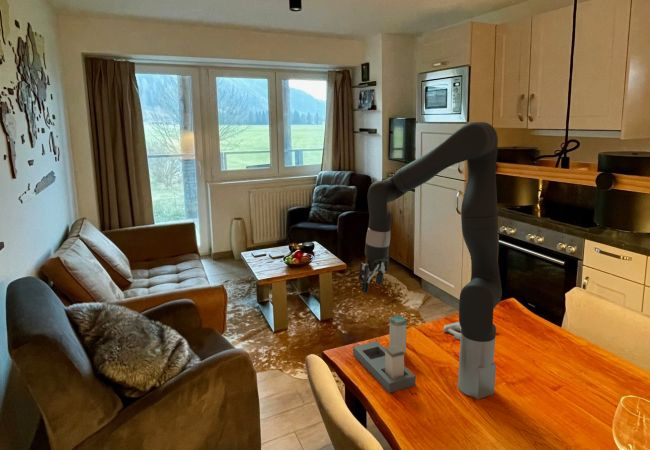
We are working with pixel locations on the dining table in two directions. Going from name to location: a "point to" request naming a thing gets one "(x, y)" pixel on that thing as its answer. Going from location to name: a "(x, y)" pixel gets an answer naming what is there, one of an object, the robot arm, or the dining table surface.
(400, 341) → the plug
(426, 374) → the dining table surface
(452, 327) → the gun
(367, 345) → the two-hole peg board
